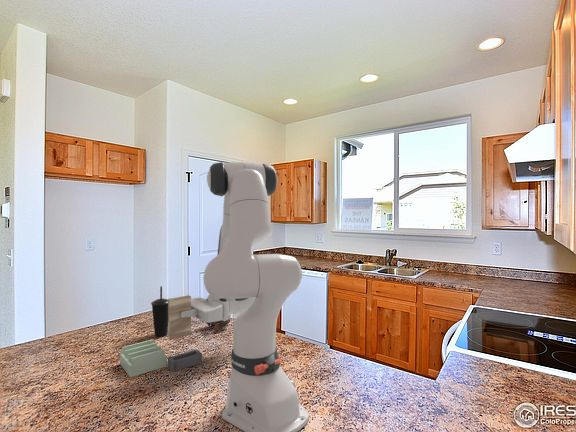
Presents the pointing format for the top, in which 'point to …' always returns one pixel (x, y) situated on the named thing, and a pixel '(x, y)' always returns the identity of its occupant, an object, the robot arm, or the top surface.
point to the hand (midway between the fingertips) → (178, 313)
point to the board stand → (184, 360)
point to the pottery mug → (220, 325)
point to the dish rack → (142, 358)
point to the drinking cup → (160, 315)
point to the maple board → (178, 317)
